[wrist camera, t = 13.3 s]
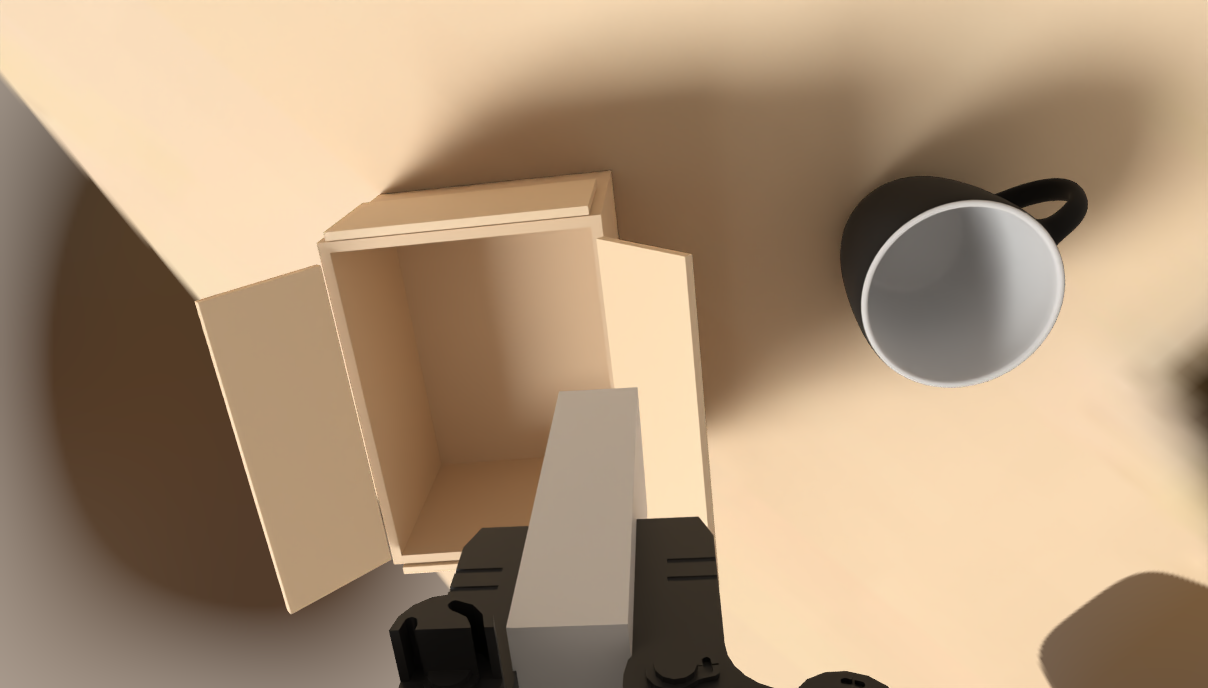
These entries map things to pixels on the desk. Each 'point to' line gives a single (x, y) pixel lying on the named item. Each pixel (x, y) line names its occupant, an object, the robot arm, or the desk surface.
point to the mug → (957, 275)
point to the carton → (467, 345)
